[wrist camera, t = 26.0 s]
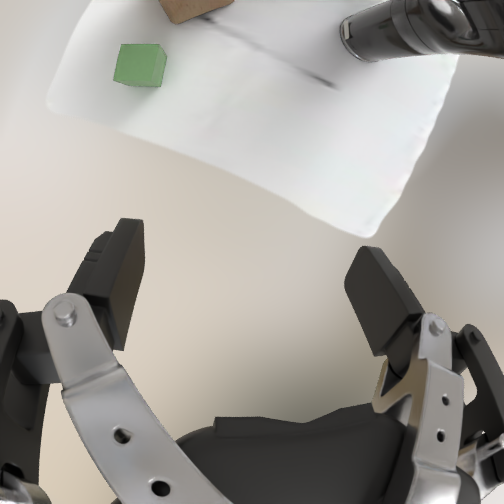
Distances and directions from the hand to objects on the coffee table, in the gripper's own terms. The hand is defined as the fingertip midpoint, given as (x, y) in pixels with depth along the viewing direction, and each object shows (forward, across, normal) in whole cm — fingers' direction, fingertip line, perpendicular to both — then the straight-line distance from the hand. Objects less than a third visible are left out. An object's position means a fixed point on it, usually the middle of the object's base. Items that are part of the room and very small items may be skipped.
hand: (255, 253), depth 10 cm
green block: (+34, +13, -6) cm, 37 cm away
